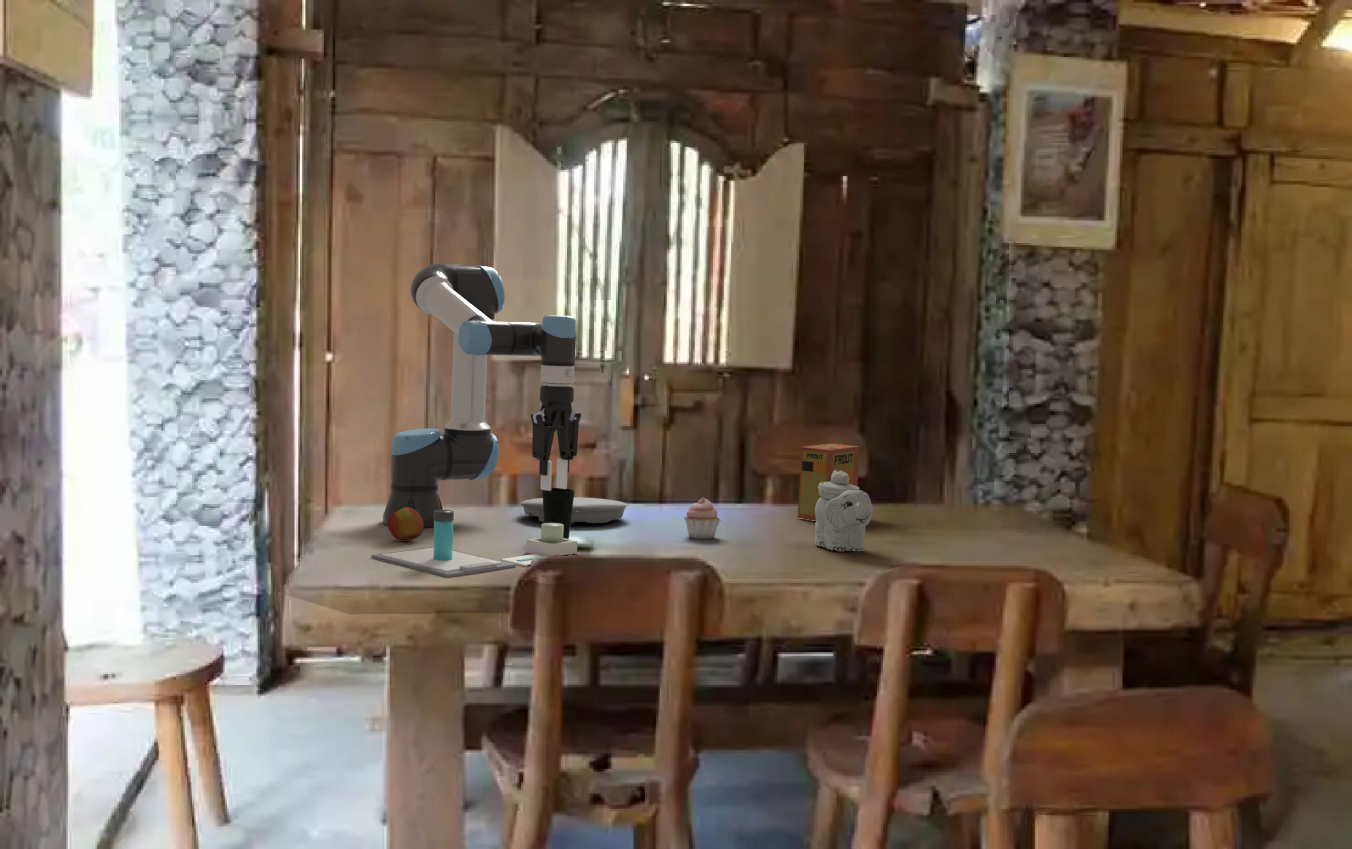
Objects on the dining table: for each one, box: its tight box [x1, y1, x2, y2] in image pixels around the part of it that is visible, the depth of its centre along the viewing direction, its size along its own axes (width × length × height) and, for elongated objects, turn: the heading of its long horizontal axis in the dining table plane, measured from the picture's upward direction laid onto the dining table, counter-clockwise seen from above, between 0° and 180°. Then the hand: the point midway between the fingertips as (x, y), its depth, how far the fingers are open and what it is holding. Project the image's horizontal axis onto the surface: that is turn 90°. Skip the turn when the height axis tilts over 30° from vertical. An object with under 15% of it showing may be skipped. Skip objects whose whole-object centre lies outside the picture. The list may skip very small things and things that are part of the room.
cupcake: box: [683, 497, 722, 540], centre depth 328 cm, size 9×9×10 cm
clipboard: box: [370, 546, 517, 578], centre depth 283 cm, size 26×18×1 cm
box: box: [797, 443, 860, 520], centre depth 368 cm, size 17×9×20 cm, turn 144°
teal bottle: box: [433, 509, 455, 561], centre depth 283 cm, size 4×4×10 cm
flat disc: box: [520, 496, 629, 526], centre depth 348 cm, size 28×28×4 cm
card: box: [500, 554, 544, 567], centre depth 289 cm, size 8×10×1 cm
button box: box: [525, 537, 578, 556], centre depth 299 cm, size 8×8×3 cm
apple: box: [387, 507, 424, 542], centre depth 306 cm, size 8×8×8 cm
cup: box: [541, 487, 575, 539], centre depth 316 cm, size 8×8×12 cm
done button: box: [540, 522, 564, 543], centre depth 298 cm, size 5×5×4 cm
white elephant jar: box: [814, 470, 874, 552], centre depth 319 cm, size 16×15×19 cm
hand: (553, 488), depth 298 cm, fingers open, 4 cm apart
